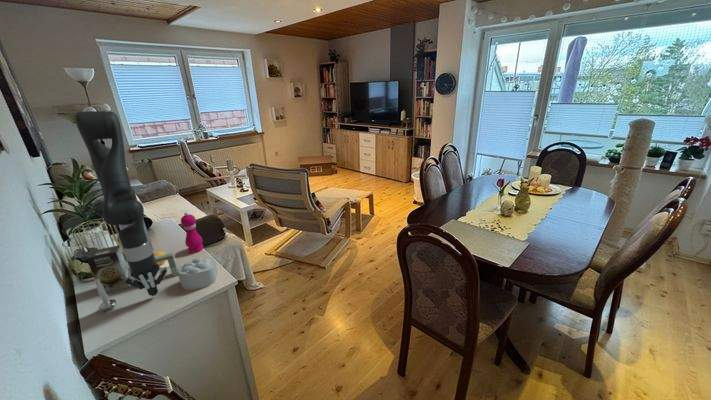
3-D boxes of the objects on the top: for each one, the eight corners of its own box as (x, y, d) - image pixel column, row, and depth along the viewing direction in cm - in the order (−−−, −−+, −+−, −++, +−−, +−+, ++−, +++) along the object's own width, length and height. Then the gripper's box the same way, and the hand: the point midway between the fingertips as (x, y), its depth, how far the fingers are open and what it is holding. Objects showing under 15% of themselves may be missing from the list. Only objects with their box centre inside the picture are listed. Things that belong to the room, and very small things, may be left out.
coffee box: (100, 294, 110) (84, 258, 104) (105, 284, 115) (90, 250, 109) (129, 286, 113) (115, 251, 108) (132, 277, 119) (119, 244, 113)
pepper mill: (207, 248, 139) (197, 210, 132) (193, 255, 134) (182, 216, 126) (199, 244, 143) (189, 208, 136) (184, 251, 137) (173, 213, 130)
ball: (148, 258, 122) (152, 269, 125) (165, 254, 125) (168, 265, 127) (150, 250, 127) (153, 261, 129) (165, 247, 129) (169, 257, 132)
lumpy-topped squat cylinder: (215, 285, 113) (211, 266, 110) (178, 293, 109) (172, 274, 106) (218, 270, 122) (214, 253, 119) (184, 277, 118) (179, 259, 115)
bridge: (136, 283, 115) (128, 263, 112) (178, 271, 122) (172, 252, 118) (135, 287, 113) (127, 267, 109) (178, 275, 119) (172, 255, 116)
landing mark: (145, 260, 131) (145, 260, 131) (175, 252, 136) (175, 252, 136) (142, 274, 121) (142, 273, 121) (174, 265, 126) (174, 264, 126)
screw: (120, 302, 105) (113, 312, 100) (105, 305, 104) (97, 314, 99) (108, 273, 100) (99, 282, 95) (92, 275, 99) (83, 284, 95)
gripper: (162, 244, 106) (174, 283, 112) (118, 255, 100) (133, 295, 106) (161, 254, 100) (174, 294, 106) (114, 266, 94) (131, 307, 100)
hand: (154, 294), depth 106 cm, fingers closed
